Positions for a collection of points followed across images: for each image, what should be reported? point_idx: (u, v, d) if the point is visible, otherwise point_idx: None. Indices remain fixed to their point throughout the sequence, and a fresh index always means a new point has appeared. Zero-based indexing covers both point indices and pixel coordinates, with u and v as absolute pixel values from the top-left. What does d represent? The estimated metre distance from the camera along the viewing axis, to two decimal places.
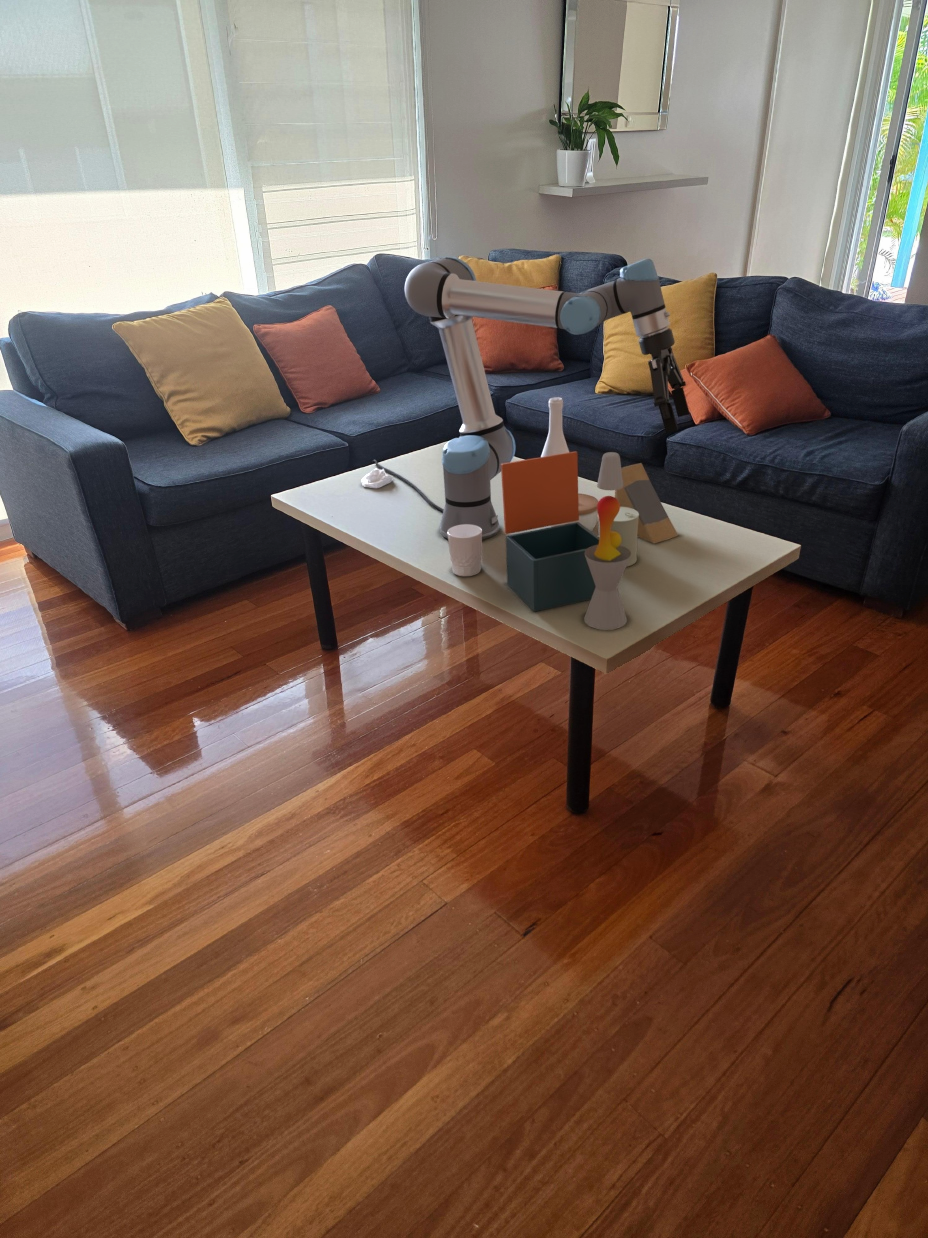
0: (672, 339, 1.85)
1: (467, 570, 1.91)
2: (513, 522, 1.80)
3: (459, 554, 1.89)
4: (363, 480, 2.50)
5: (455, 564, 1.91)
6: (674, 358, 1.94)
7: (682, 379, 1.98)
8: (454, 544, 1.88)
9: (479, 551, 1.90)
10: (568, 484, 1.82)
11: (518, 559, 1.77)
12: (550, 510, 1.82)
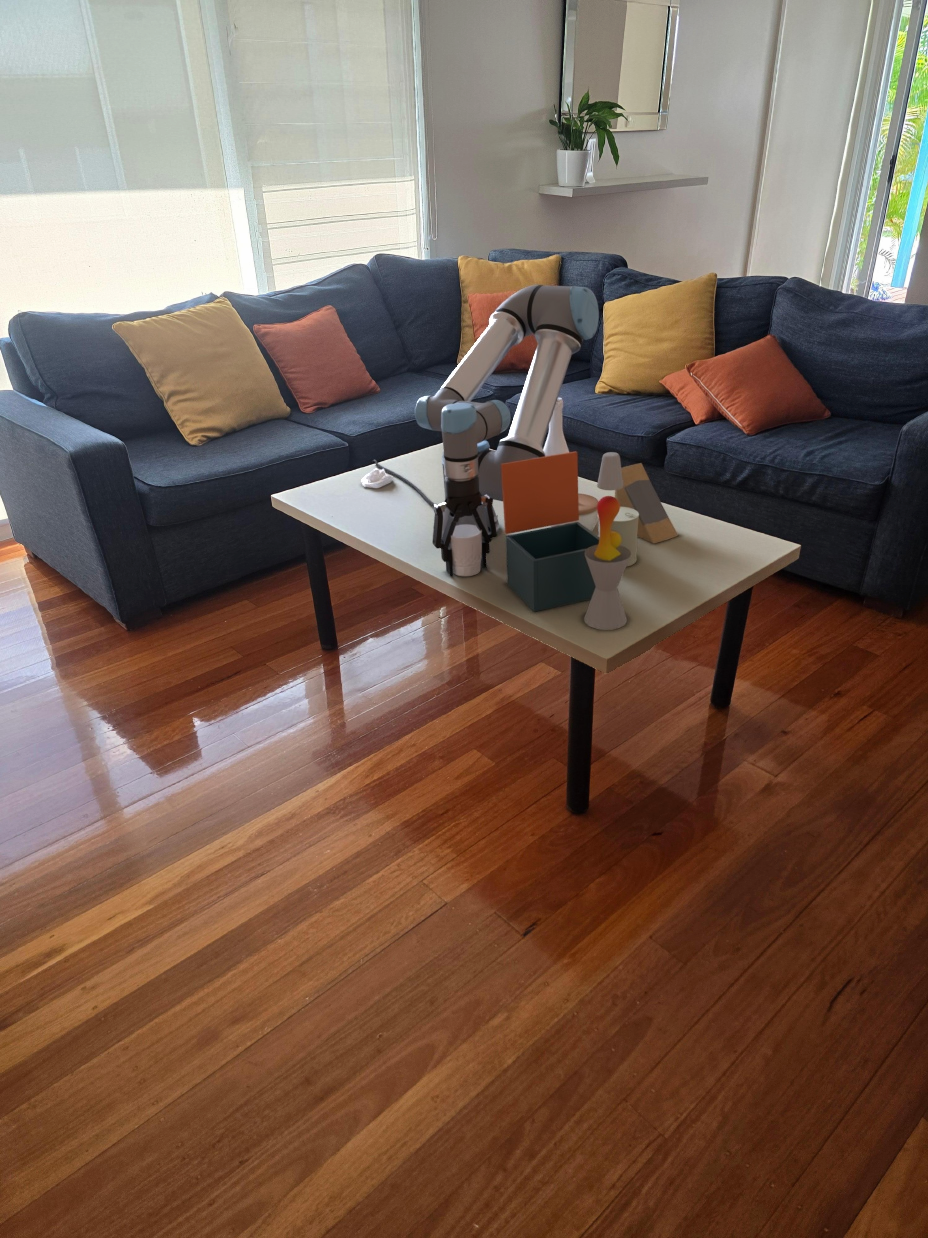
0: (465, 492, 1.81)
1: (466, 570, 1.91)
2: (513, 522, 1.80)
3: (459, 554, 1.89)
4: (363, 480, 2.50)
5: (455, 564, 1.91)
6: (490, 510, 1.88)
7: (493, 534, 1.91)
8: (454, 544, 1.88)
9: (479, 551, 1.90)
10: (568, 484, 1.82)
11: (518, 559, 1.77)
12: (550, 510, 1.82)
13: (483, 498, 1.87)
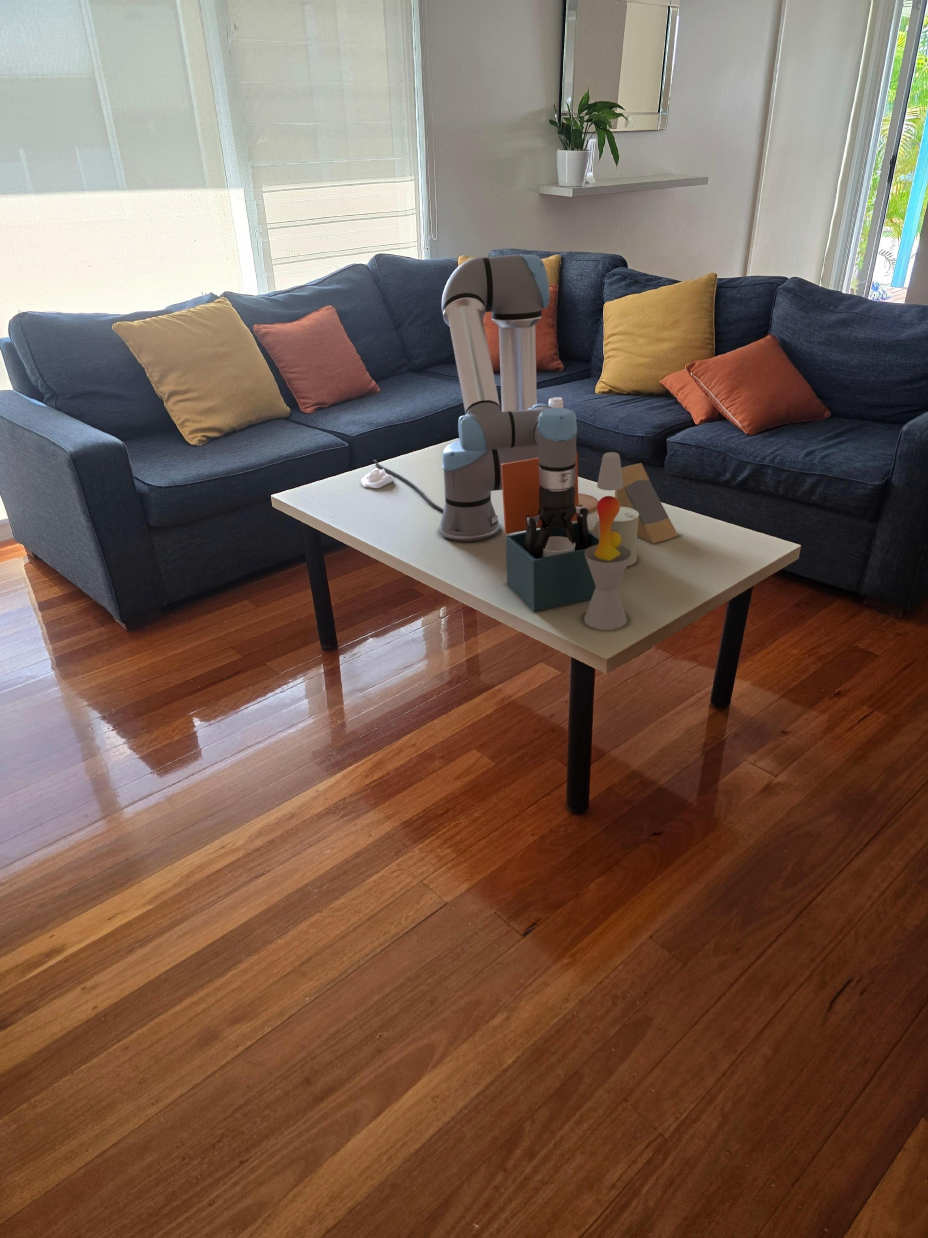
0: (562, 503, 1.70)
1: None
2: (513, 522, 1.80)
3: None
4: (363, 480, 2.50)
5: None
6: (585, 522, 1.77)
7: (586, 547, 1.80)
8: None
9: None
10: None
11: (518, 559, 1.77)
12: None
13: (578, 509, 1.76)
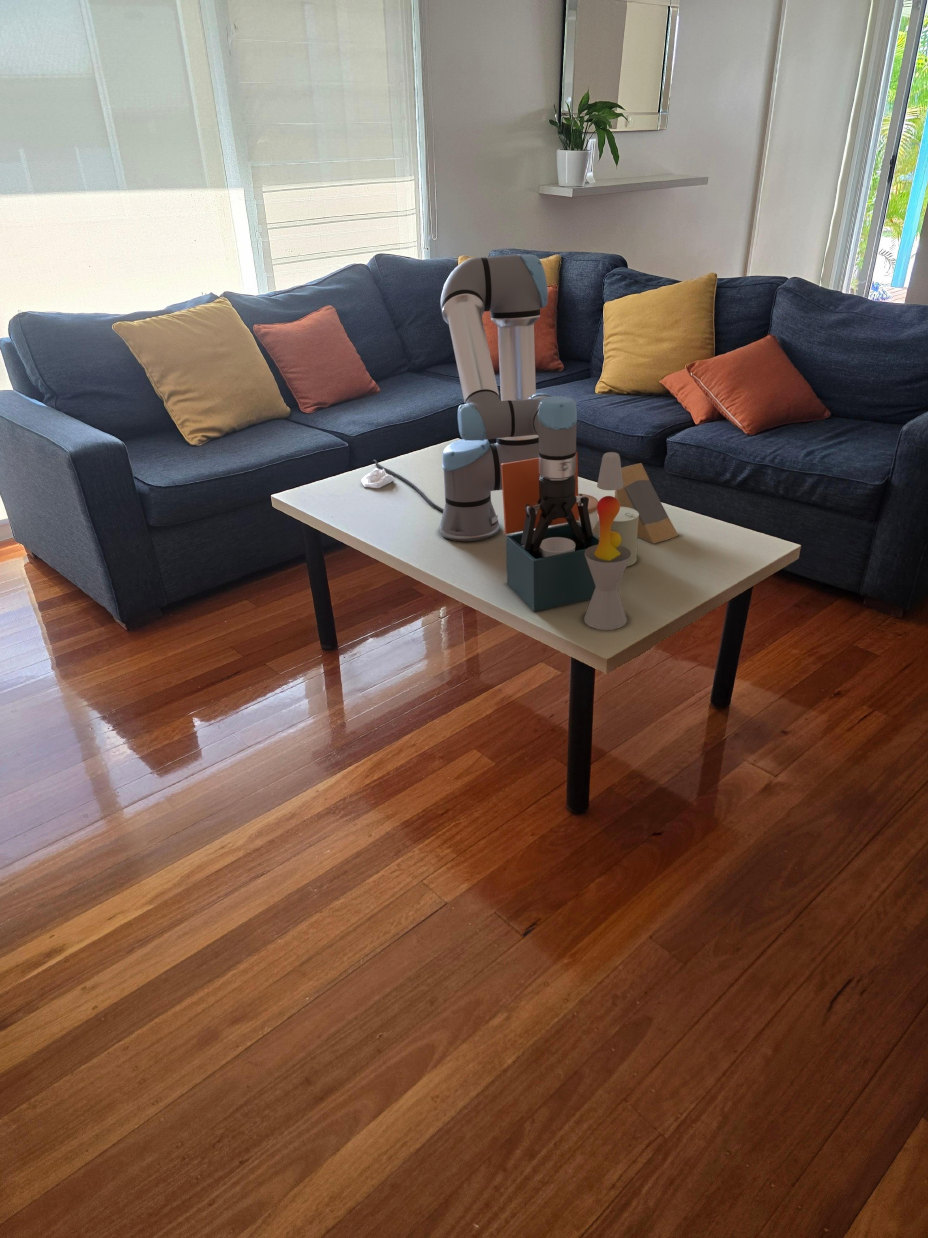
0: (562, 492, 1.69)
1: None
2: (513, 522, 1.80)
3: None
4: (363, 480, 2.50)
5: None
6: (586, 511, 1.76)
7: (589, 536, 1.79)
8: None
9: None
10: None
11: (518, 559, 1.77)
12: None
13: (578, 498, 1.75)
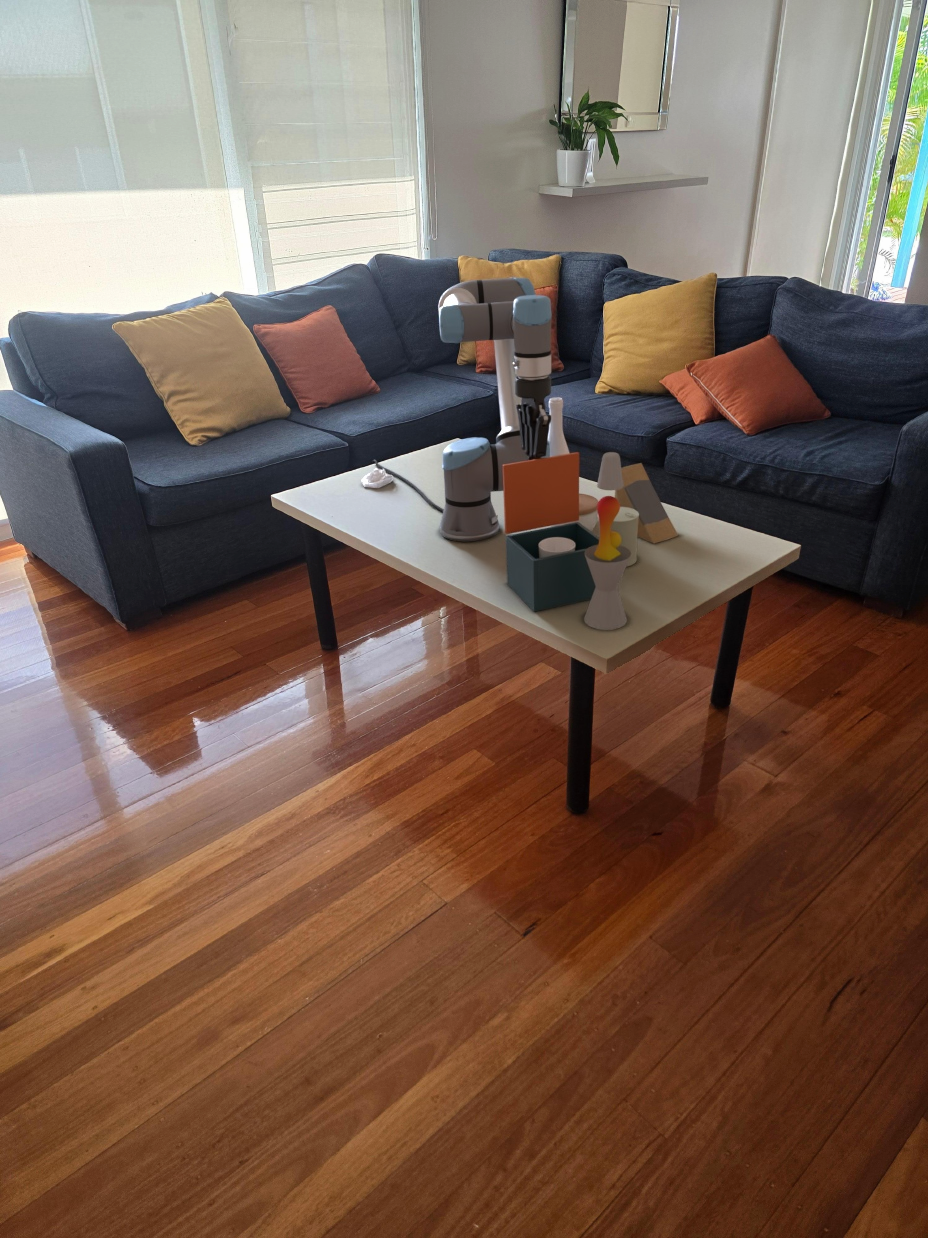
0: (515, 390, 1.73)
1: None
2: (513, 522, 1.80)
3: None
4: (363, 480, 2.50)
5: None
6: (537, 429, 1.72)
7: (533, 453, 1.76)
8: None
9: None
10: (569, 485, 1.81)
11: (518, 559, 1.77)
12: (550, 510, 1.82)
13: (540, 412, 1.71)
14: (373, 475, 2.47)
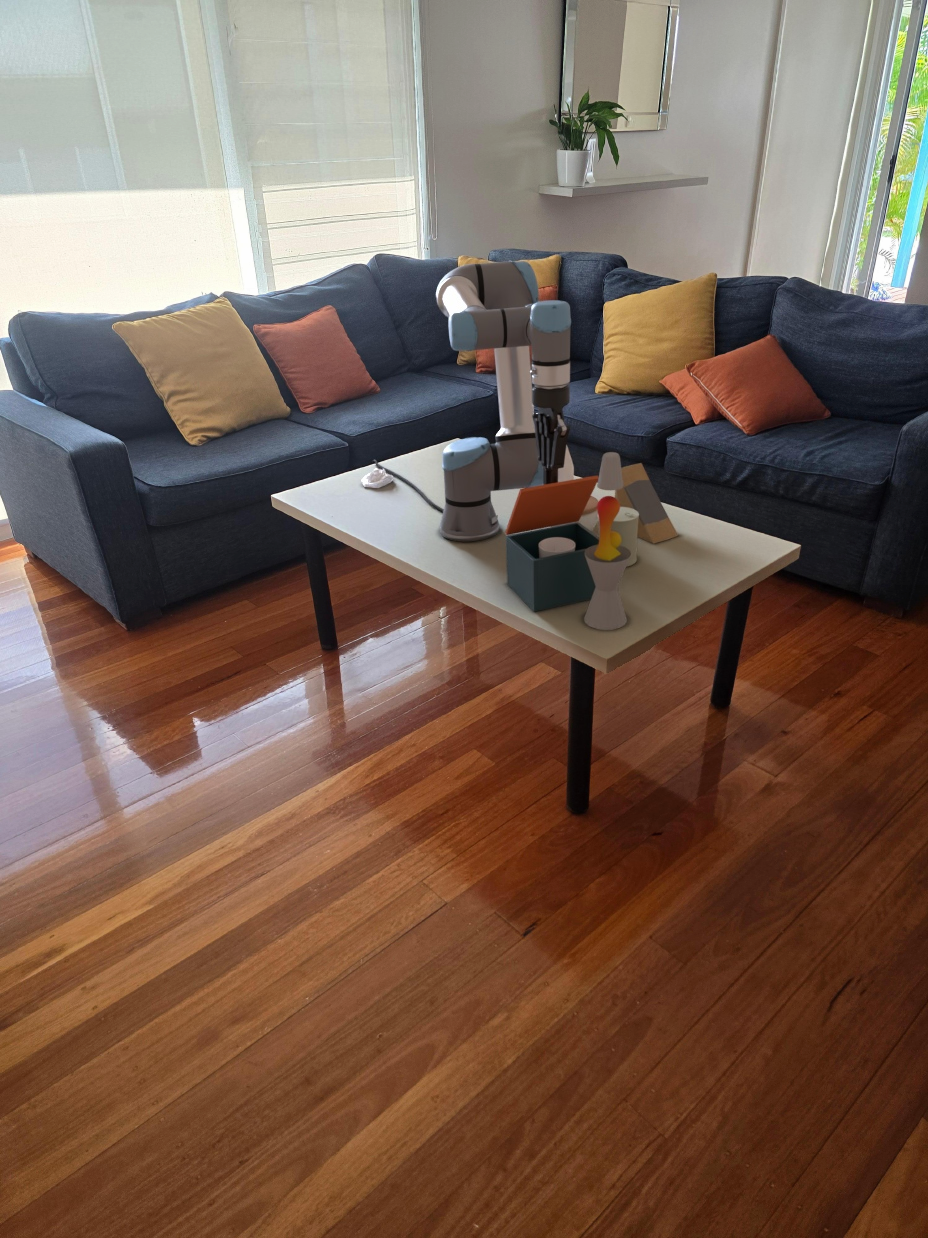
0: (532, 399, 1.66)
1: None
2: (516, 527, 1.80)
3: None
4: (363, 480, 2.50)
5: None
6: (555, 439, 1.65)
7: (551, 464, 1.70)
8: None
9: None
10: (579, 500, 1.78)
11: (518, 559, 1.77)
12: (554, 517, 1.81)
13: (558, 423, 1.64)
14: (373, 475, 2.47)
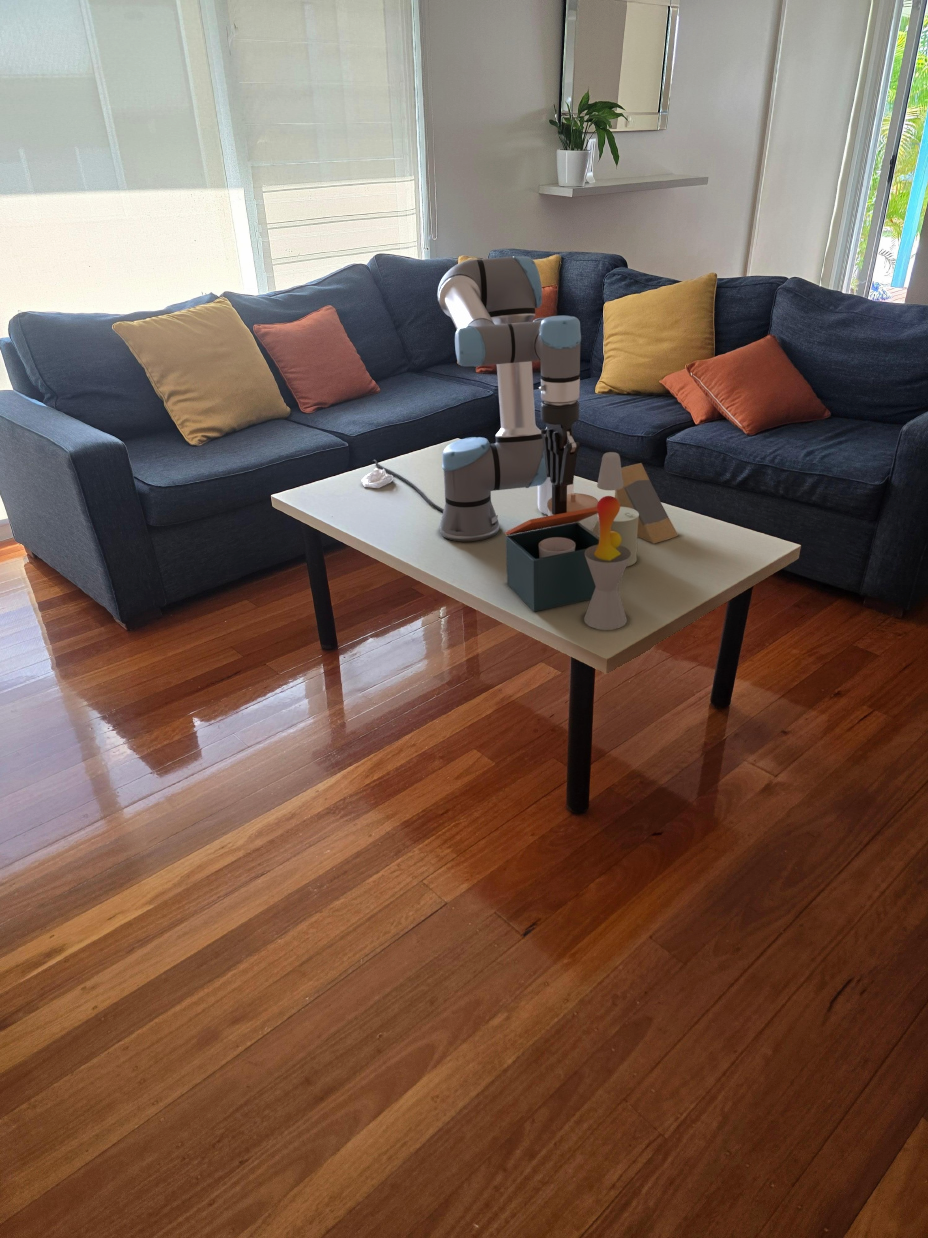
0: (541, 415, 1.63)
1: None
2: (517, 532, 1.79)
3: None
4: (363, 480, 2.50)
5: None
6: (564, 456, 1.63)
7: (560, 481, 1.67)
8: None
9: None
10: (584, 516, 1.77)
11: (518, 559, 1.77)
12: (556, 524, 1.81)
13: (568, 439, 1.62)
14: (373, 475, 2.47)
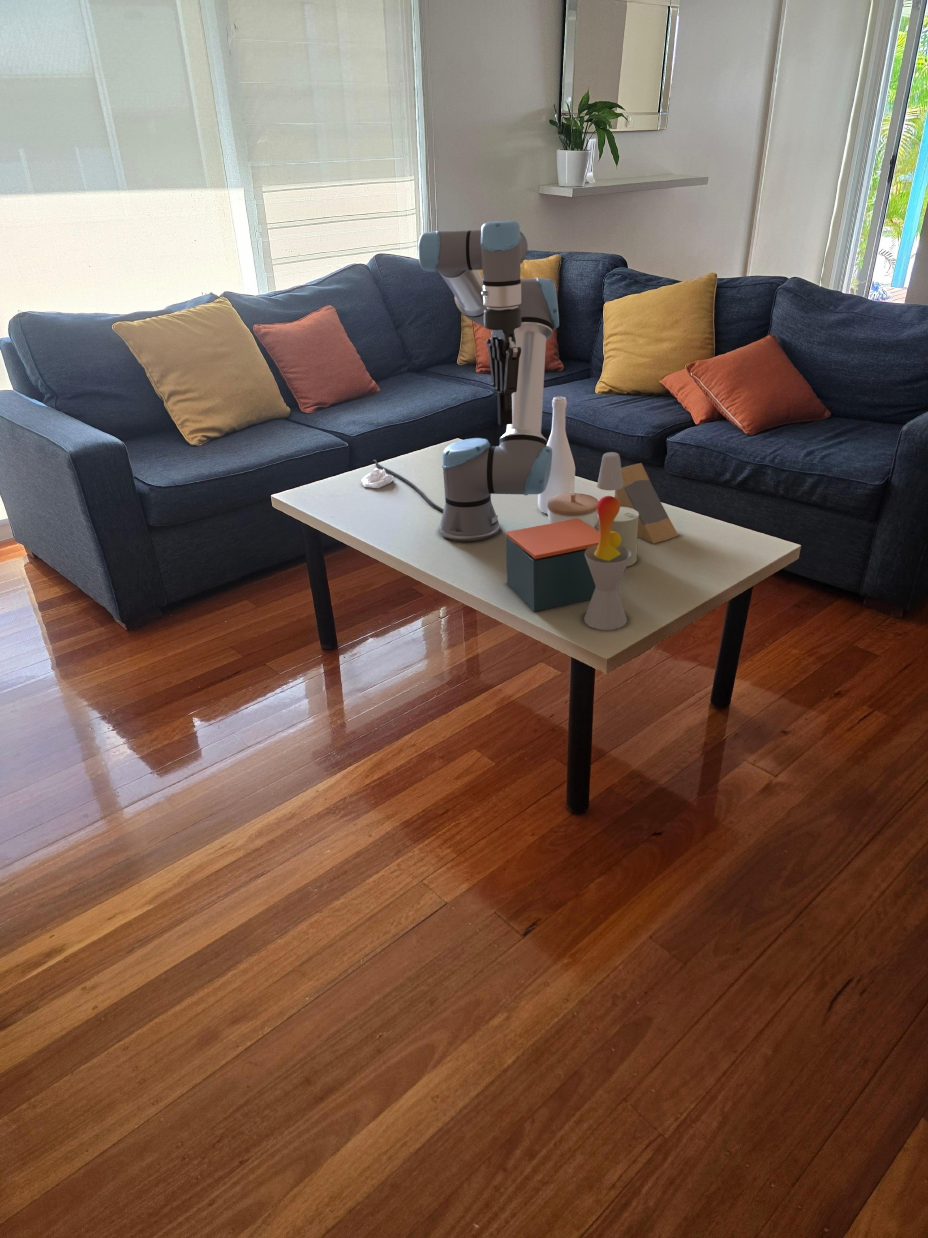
0: (484, 321, 1.66)
1: None
2: None
3: None
4: (363, 480, 2.50)
5: None
6: (507, 362, 1.66)
7: (504, 388, 1.70)
8: None
9: None
10: None
11: (518, 559, 1.77)
12: None
13: (510, 344, 1.65)
14: (373, 475, 2.47)
